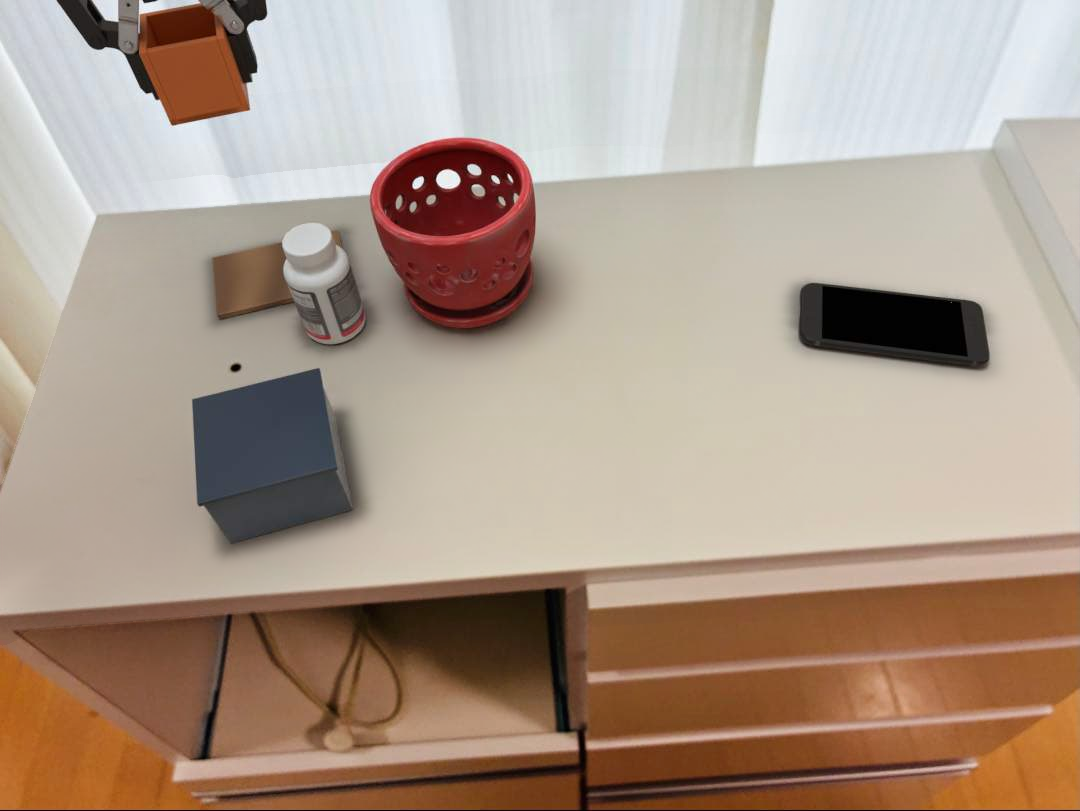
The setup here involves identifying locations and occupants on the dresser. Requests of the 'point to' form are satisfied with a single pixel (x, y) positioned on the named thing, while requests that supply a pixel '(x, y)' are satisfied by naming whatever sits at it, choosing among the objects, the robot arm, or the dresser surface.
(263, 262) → the cork mat
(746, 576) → the dresser surface
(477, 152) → the flower pot
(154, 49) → the orange tub
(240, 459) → the blue tin
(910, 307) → the smartphone
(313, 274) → the pill bottle
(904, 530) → the dresser surface
